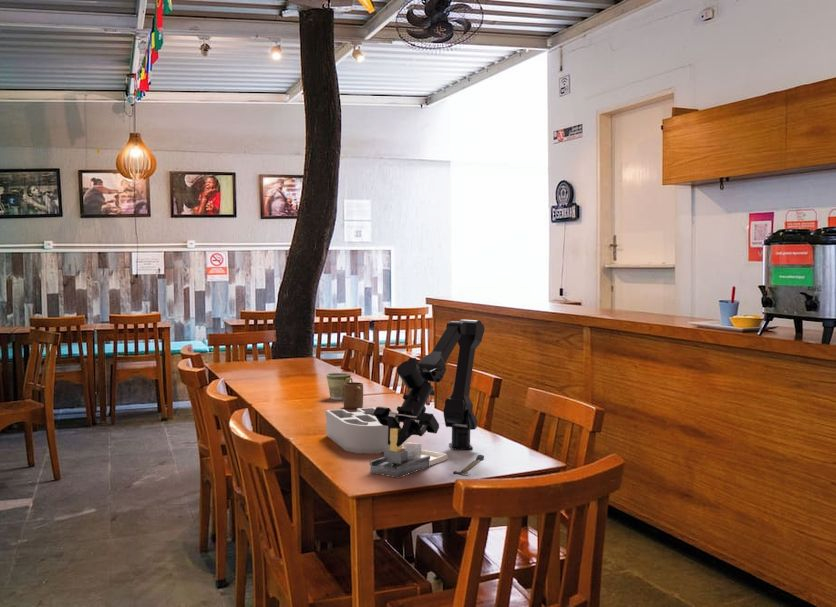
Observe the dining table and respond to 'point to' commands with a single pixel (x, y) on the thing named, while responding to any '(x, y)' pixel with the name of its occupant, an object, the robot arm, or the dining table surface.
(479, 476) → the dining table surface
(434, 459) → the tray
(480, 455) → the tactical tomahawk
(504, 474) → the dining table surface
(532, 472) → the dining table surface
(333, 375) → the ceramic cup
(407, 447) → the pale grey cube
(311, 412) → the dining table surface
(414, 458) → the speckled white cube
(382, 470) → the slot deck
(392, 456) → the yellow peg on base
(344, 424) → the grey compartment organizer
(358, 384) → the mug
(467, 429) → the robot arm
